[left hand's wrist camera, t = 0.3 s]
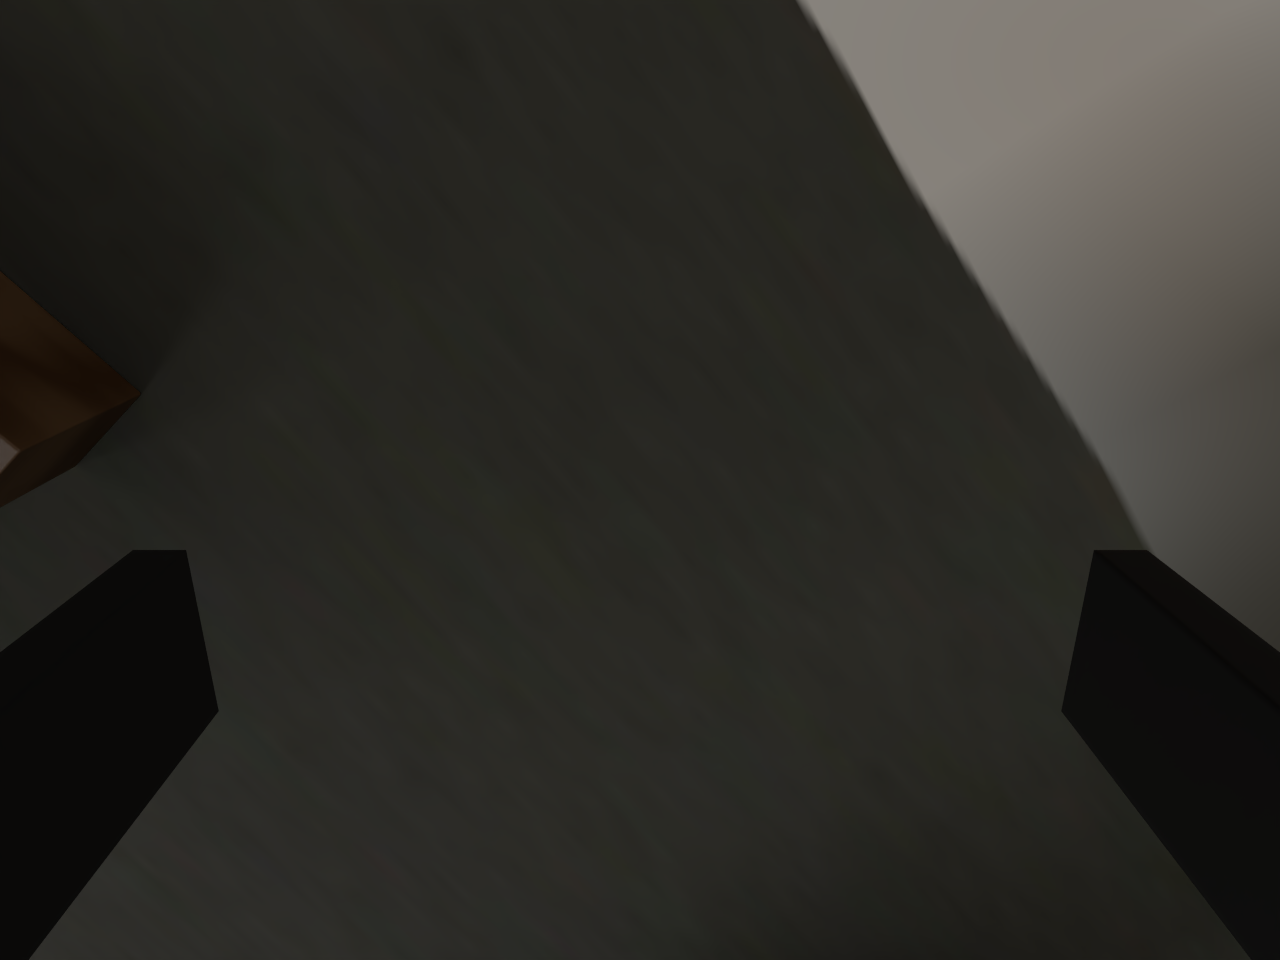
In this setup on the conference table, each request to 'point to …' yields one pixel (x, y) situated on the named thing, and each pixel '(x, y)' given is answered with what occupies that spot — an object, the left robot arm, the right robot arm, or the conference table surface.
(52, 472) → the bar
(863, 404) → the conference table surface
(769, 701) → the conference table surface
